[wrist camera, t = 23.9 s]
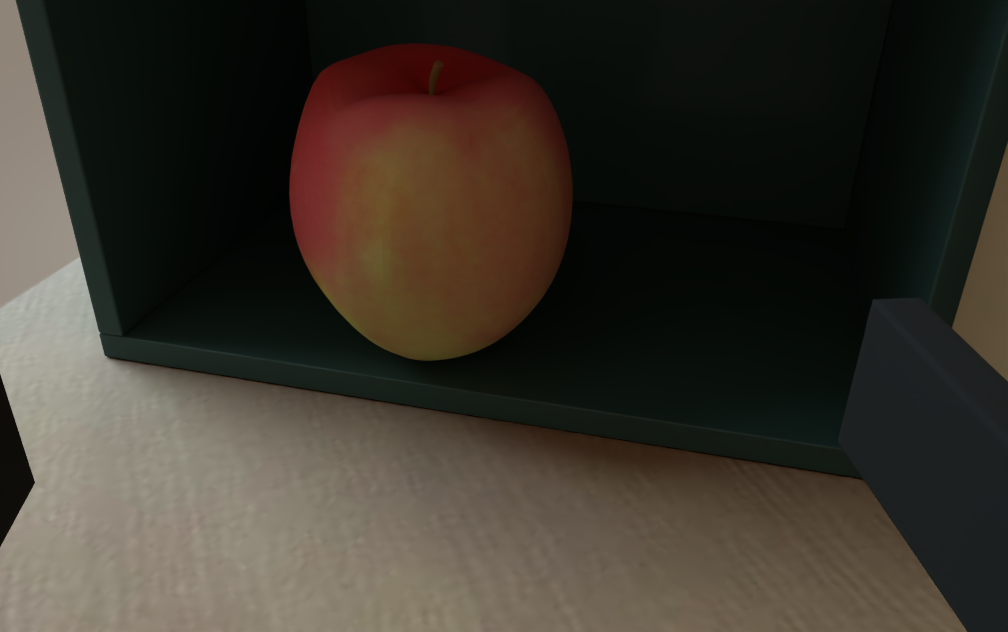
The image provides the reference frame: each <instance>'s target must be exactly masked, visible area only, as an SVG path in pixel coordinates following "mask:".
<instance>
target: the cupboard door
mask: <svg viewBox="0 0 1008 632" xmlns="http://www.w3.org/2000/svg"><path fill="white" fill-rule="evenodd" d="M952 329H953V330H954V331H955V332H956V333H958V334H959V335H960V336H961V337H962V338H963V339H964V340H965V341H966V342H967V343H968V344H969V345H970V346H971V347H972V348H973V349H974V350H975V351H976V352H977V353H978V354H980V355H981V356H982V357H983V358H984V359H985V360H986V361H987V362H988V363H989V364H990V365H991V366H992V367H993V368H994V369H995V370H996V371H997V372H998V373H999V374H1000V375H1002V376H1003V377H1004V378H1005V379H1006V380H1007V381H1008V143H1007V146H1006V149H1005V153H1004V156H1003V159H1002V163H1001V166H1000V170H999V173H998V176H997V180H996V183H995V186H994V190H993V193H992V196H991V200H990V203H989V206H988V210H987V213H986V216H985V220H984V223H983V226H982V230H981V233H980V236H979V240H978V243H977V246H976V250H975V253H974V256H973V260H972V263H971V266H970V270H969V273H968V276H967V280H966V283H965V286H964V290H963V293H962V296H961V300H960V303H959V306H958V310H957V313H956V317H955V320H954V323H953V327H952Z"/></svg>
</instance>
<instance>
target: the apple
mask: <svg viewBox="0 0 1008 632" xmlns="http://www.w3.org/2000/svg"><path fill="white" fill-rule="evenodd" d="M289 196H290V209H291V216H292V222H293V228H294V232H295V236H296V239H297V243H298V246H299V249H300V251H301V254H302V256H303V259H304V261H305V263H306V265H307V267H308V269H309V271H310V273H311V275H312V276H313V278H314V280H315V281H316V283H317V284H318V285H319V287H320V288H321V290H322V291H323V293H324V294H325V295H326V297H327V298H328V299H329V301H330V302H331V303H332V304H333V306H334V307H335V308H336V309H337V310H338V312H339V313H340V314H341V315H342V316H343V317H344V318H345V319H346V320H347V321H348V322H349V323H350V324H351V325H352V326H353V327H354V328H355V329H356V330H357V331H359V332H360V333H361V334H362V335H363V336H365V337H366V338H367V339H369V340H370V341H371V342H373V343H374V344H376V345H378V346H380V347H381V348H383V349H385V350H387V351H390V352H392V353H395V354H398V355H400V356H403V357H406V358H409V359H414V360H423V361H433V360H445V359H451V358H456V357H461V356H464V355H468V354H471V353H474V352H476V351H479V350H481V349H483V348H485V347H487V346H489V345H491V344H493V343H494V342H496V341H498V340H499V339H501V338H502V337H504V336H505V335H506V334H508V333H509V332H510V331H511V330H513V329H514V328H515V327H516V326H517V325H518V324H519V323H521V322H522V321H523V320H524V319H525V318H526V317H527V316H528V315H529V314H530V312H531V311H532V310H533V309H534V308H535V306H536V305H537V304H538V303H539V302H540V300H541V299H542V297H543V296H544V295H545V293H546V291H547V290H548V288H549V286H550V285H551V283H552V281H553V279H554V278H555V275H556V273H557V271H558V268H559V266H560V264H561V261H562V258H563V255H564V251H565V248H566V244H567V240H568V235H569V230H570V224H571V215H572V202H573V184H572V173H571V164H570V158H569V153H568V147H567V143H566V140H565V136H564V132H563V129H562V127H561V124H560V121H559V119H558V116H557V113H556V111H555V109H554V107H553V105H552V103H551V101H550V99H549V98H548V96H547V95H546V93H545V92H544V90H543V89H542V87H541V86H540V85H539V84H538V83H537V82H536V81H535V80H533V79H532V78H531V77H529V76H527V75H525V74H523V73H521V72H519V71H517V70H515V69H513V68H511V67H508V66H506V65H504V64H502V63H499V62H497V61H495V60H492V59H490V58H487V57H485V56H482V55H479V54H476V53H473V52H470V51H467V50H464V49H460V48H456V47H451V46H444V45H436V44H416V43H412V44H397V45H390V46H385V47H380V48H377V49H373V50H371V51H368V52H365V53H362V54H359V55H356V56H353V57H350V58H348V59H344V60H341V61H339V62H336V63H334V64H332V65H331V66H329V67H327V68H326V69H324V70H323V71H322V72H321V73H320V74H319V76H318V77H317V79H316V80H315V82H314V83H313V85H312V87H311V90H310V93H309V95H308V98H307V100H306V103H305V106H304V109H303V112H302V116H301V119H300V122H299V126H298V130H297V134H296V139H295V143H294V148H293V154H292V160H291V170H290V190H289Z"/></svg>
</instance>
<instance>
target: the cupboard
mask: <svg viewBox="0 0 1008 632" xmlns="http://www.w3.org/2000/svg"><path fill="white" fill-rule="evenodd" d="M16 3H17V7H18V11H19V15H20V19H21V23H22V27H23V31H24V35H25V39H26V43H27V47H28V51H29V55H30V59H31V63H32V67H33V71H34V75H35V79H36V83H37V87H38V91H39V95H40V99H41V102H42V106H43V111H44V115H45V119H46V123H47V127H48V131H49V134H50V138H51V142H52V146H53V150H54V154H55V158H56V162H57V166H58V170H59V174H60V178H61V182H62V186H63V190H64V194H65V198H66V202H67V206H68V210H69V214H70V218H71V222H72V225H73V230H74V234H75V238H76V242H77V246H78V250H79V254H80V258H81V262H82V266H83V270H84V274H85V278H86V282H87V286H88V290H89V294H90V298H91V302H92V306H93V309H94V313H95V317H96V321H97V325H98V329H99V332H100V338H101V342H102V346H103V350H104V354H105V356H107V357H114V358H120V359H126V360H132V361H138V362H145V363H151V364H157V365H163V366H169V367H176V368H182V369H188V370H194V371H200V372H207V373H213V374H219V375H225V376H231V377H238V378H244V379H250V380H256V381H262V382H269V383H275V384H281V385H287V386H293V387H300V388H306V389H312V390H318V391H324V392H331V393H337V394H343V395H349V396H355V397H362V398H368V399H374V400H380V401H386V402H393V403H399V404H405V405H411V406H417V407H424V408H430V409H436V410H442V411H448V412H455V413H461V414H467V415H473V416H479V417H486V418H492V419H498V420H504V421H510V422H517V423H523V424H529V425H535V426H541V427H548V428H554V429H560V430H566V431H572V432H579V433H585V434H591V435H597V436H603V437H610V438H616V439H622V440H628V441H634V442H641V443H647V444H653V445H659V446H665V447H672V448H678V449H684V450H690V451H696V452H703V453H709V454H715V455H721V456H727V457H734V458H740V459H746V460H752V461H758V462H765V463H771V464H777V465H783V466H789V467H796V468H802V469H808V470H814V471H820V472H827V473H833V474H839V475H845V476H851V477H858V478H862V476H861V475H860V473H859V472H858V470H857V469H856V467H855V466H854V464H853V463H852V462H851V460H850V459H849V457H848V456H847V454H846V453H845V451H844V450H843V448H842V447H841V445H840V444H839V442H838V437H839V433H840V429H841V425H842V421H843V417H844V413H845V409H846V405H847V401H848V397H849V393H850V389H851V385H852V381H853V377H854V373H855V369H856V365H857V361H858V357H859V353H860V349H861V345H862V341H863V337H864V333H865V329H866V325H867V321H868V317H869V313H870V309H871V305H872V301H873V299H896V298H921V299H922V300H923V301H924V302H925V303H926V304H927V305H928V306H929V307H930V308H931V309H932V310H933V311H934V312H936V313H937V314H938V315H939V316H940V317H941V318H942V319H943V320H944V321H945V322H946V323H947V324H948V325H949V326H950V327H951V328H952V327H953V323H954V320H955V317H956V313H957V310H958V306H959V303H960V300H961V296H962V293H963V290H964V286H965V283H966V280H967V276H968V273H969V270H970V266H971V263H972V260H973V256H974V253H975V250H976V246H977V243H978V240H979V236H980V233H981V230H982V226H983V223H984V220H985V216H986V213H987V210H988V206H989V203H990V200H991V196H992V193H993V190H994V186H995V183H996V180H997V176H998V173H999V170H1000V166H1001V163H1002V159H1003V156H1004V153H1005V149H1006V146H1007V143H1008V0H16ZM412 43H416V44H436V45H444V46H451V47H456V48H460V49H464V50H467V51H470V52H473V53H476V54H479V55H482V56H485V57H487V58H490V59H492V60H495V61H497V62H499V63H502V64H504V65H506V66H508V67H511V68H513V69H515V70H517V71H519V72H521V73H523V74H525V75H527V76H529V77H531V78H532V79H533V80H535V81H536V82H537V83H538V84H539V85H540V86H541V87H542V89H543V90H544V92H545V93H546V95H547V96H548V98H549V99H550V101H551V103H552V105H553V107H554V109H555V111H556V113H557V116H558V119H559V121H560V124H561V127H562V129H563V132H564V136H565V140H566V143H567V147H568V153H569V158H570V164H571V173H572V184H573V202H572V215H571V224H570V230H569V235H568V240H567V244H566V248H565V251H564V255H563V258H562V261H561V264H560V266H559V268H558V271H557V273H556V275H555V278H554V279H553V281H552V283H551V285H550V286H549V288H548V290H547V291H546V293H545V295H544V296H543V297H542V299H541V300H540V302H539V303H538V304H537V305H536V306H535V308H534V309H533V310H532V311H531V312H530V314H529V315H528V316H527V317H526V318H525V319H524V320H523V321H522V322H521V323H519V324H518V325H517V326H516V327H515V328H514V329H513V330H511V331H510V332H509V333H508V334H506V335H505V336H504V337H502V338H501V339H499V340H498V341H496V342H494V343H493V344H491V345H489V346H487V347H485V348H483V349H481V350H479V351H476V352H474V353H471V354H468V355H464V356H461V357H456V358H451V359H445V360H433V361H423V360H414V359H409V358H406V357H403V356H400V355H398V354H395V353H392V352H390V351H387V350H385V349H383V348H381V347H380V346H378V345H376V344H374V343H373V342H371V341H370V340H369V339H367V338H366V337H365V336H363V335H362V334H361V333H360V332H359V331H357V330H356V329H355V328H354V327H353V326H352V325H351V324H350V323H349V322H348V321H347V320H346V319H345V318H344V317H343V316H342V315H341V314H340V313H339V312H338V310H337V309H336V308H335V307H334V306H333V304H332V303H331V302H330V301H329V299H328V298H327V297H326V295H325V294H324V293H323V291H322V290H321V288H320V287H319V285H318V284H317V283H316V281H315V280H314V278H313V276H312V275H311V273H310V271H309V269H308V267H307V265H306V263H305V261H304V259H303V256H302V254H301V251H300V249H299V246H298V243H297V239H296V236H295V232H294V228H293V222H292V216H291V209H290V196H289V190H290V170H291V160H292V154H293V148H294V143H295V139H296V134H297V130H298V126H299V122H300V119H301V116H302V112H303V109H304V106H305V103H306V100H307V98H308V95H309V93H310V90H311V87H312V85H313V83H314V82H315V80H316V79H317V77H318V76H319V74H320V73H321V72H322V71H323V70H324V69H326V68H327V67H329V66H331V65H332V64H334V63H336V62H339V61H341V60H344V59H348V58H350V57H353V56H356V55H359V54H362V53H365V52H368V51H371V50H373V49H377V48H380V47H385V46H390V45H397V44H412Z"/></svg>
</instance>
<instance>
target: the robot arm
mask: <svg viewBox="0 0 1008 632" xmlns="http://www.w3.org/2000/svg"><path fill="white" fill-rule="evenodd" d="M838 442H839V444H840V445H841V447H842V448H843V450H844V451H845V453H846V454H847V456H848V457H849V459H850V460H851V462H852V463H853V464H854V466H855V467H856V469H857V470H858V472H859V473H860V475H861V476H862V478H863V479H864V481H865V482H866V484H867V485H868V486H869V488H870V489H871V491H872V492H873V494H874V495H875V497H876V498H877V500H878V501H879V503H880V504H881V506H882V507H883V508H884V510H885V511H886V513H887V514H888V516H889V517H890V519H891V520H892V522H893V523H894V525H895V526H896V527H897V529H898V530H899V532H900V533H901V535H902V536H903V538H904V539H905V541H906V542H907V544H908V545H909V547H910V548H911V549H912V551H913V552H914V554H915V555H916V557H917V558H918V560H919V561H920V563H921V564H922V566H923V567H924V569H925V570H926V571H927V573H928V574H929V576H930V577H931V579H932V580H933V582H934V583H935V585H936V586H937V588H938V589H939V591H940V592H941V593H942V595H943V596H944V598H945V599H946V601H947V602H948V604H949V605H950V607H951V608H952V610H953V611H954V612H955V614H956V615H957V617H958V618H959V620H960V621H961V623H962V624H963V626H964V627H965V629H966V630H967V632H1008V381H1007V380H1006V379H1005V378H1004V377H1003V376H1002V375H1000V374H999V373H998V372H997V371H996V370H995V369H994V368H993V367H992V366H991V365H990V364H989V363H988V362H987V361H986V360H985V359H984V358H983V357H982V356H981V355H980V354H978V353H977V352H976V351H975V350H974V349H973V348H972V347H971V346H970V345H969V344H968V343H967V342H966V341H965V340H964V339H963V338H962V337H961V336H960V335H959V334H958V333H956V332H955V331H954V330H953V329H952V328H951V327H950V326H949V325H948V324H947V323H946V322H945V321H944V320H943V319H942V318H941V317H940V316H939V315H938V314H937V313H936V312H934V311H933V310H932V309H931V308H930V307H929V306H928V305H927V304H926V303H925V302H924V301H923V300H922V299H921V298H896V299H873V301H872V305H871V309H870V313H869V317H868V321H867V325H866V329H865V333H864V337H863V341H862V345H861V349H860V353H859V357H858V361H857V365H856V369H855V373H854V377H853V381H852V385H851V389H850V393H849V397H848V401H847V405H846V409H845V413H844V417H843V421H842V425H841V429H840V433H839V437H838ZM34 483H35V481H34V478H33V475H32V472H31V469H30V466H29V463H28V460H27V456H26V453H25V450H24V447H23V444H22V441H21V438H20V435H19V431H18V428H17V425H16V422H15V419H14V416H13V413H12V410H11V407H10V403H9V400H8V397H7V394H6V391H5V388H4V385H3V382H2V378H1V375H0V546H1V544H2V543H3V541H4V539H5V537H6V535H7V533H8V531H9V530H10V528H11V526H12V524H13V522H14V520H15V519H16V517H17V515H18V513H19V511H20V509H21V507H22V506H23V504H24V502H25V500H26V498H27V496H28V495H29V493H30V491H31V489H32V487H33V485H34Z"/></svg>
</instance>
